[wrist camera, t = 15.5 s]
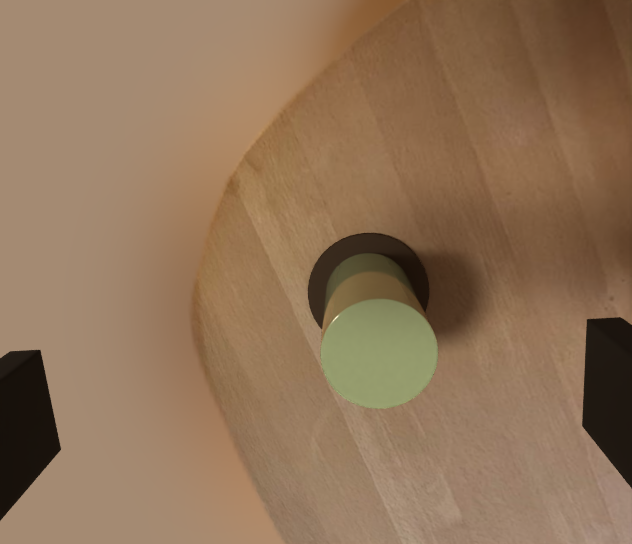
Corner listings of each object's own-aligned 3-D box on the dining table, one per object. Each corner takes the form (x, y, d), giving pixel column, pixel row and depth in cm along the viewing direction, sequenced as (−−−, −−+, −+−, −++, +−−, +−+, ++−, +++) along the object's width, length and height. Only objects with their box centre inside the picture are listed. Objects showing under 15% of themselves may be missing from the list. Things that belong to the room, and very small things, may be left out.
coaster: (304, 236, 43) (303, 237, 42) (427, 229, 42) (428, 230, 42) (312, 351, 45) (311, 352, 44) (429, 345, 44) (430, 347, 44)
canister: (322, 255, 42) (316, 301, 31) (410, 250, 42) (437, 295, 30) (327, 337, 44) (323, 411, 32) (412, 333, 44) (439, 406, 32)
